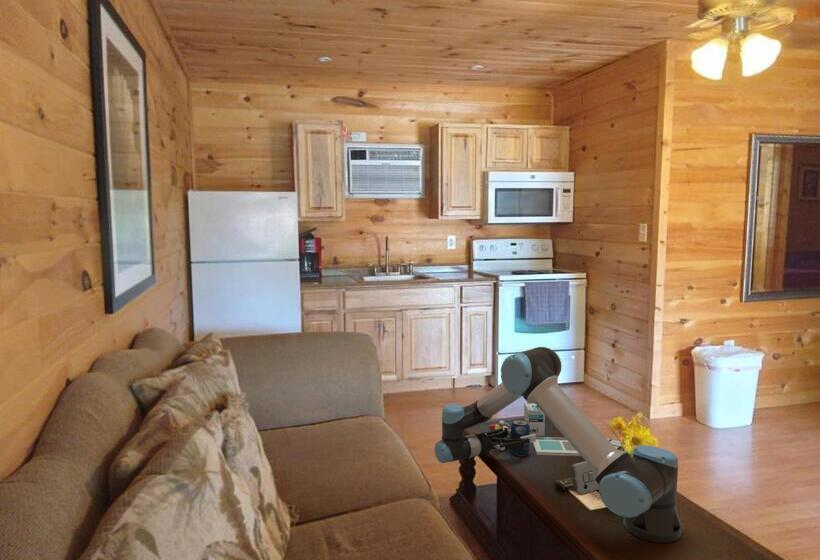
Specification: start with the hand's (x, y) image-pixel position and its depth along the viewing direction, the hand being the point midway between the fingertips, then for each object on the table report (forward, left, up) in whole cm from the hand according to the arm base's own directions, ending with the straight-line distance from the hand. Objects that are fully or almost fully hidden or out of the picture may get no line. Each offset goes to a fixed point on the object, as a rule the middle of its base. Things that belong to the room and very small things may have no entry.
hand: (528, 434), depth 212 cm
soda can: (-2, +3, -7) cm, 8 cm away
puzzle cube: (-14, -25, -7) cm, 29 cm away
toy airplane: (+14, +9, -7) cm, 18 cm away
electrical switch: (-28, -15, -7) cm, 32 cm away
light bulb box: (+20, -5, -7) cm, 22 cm away
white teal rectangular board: (+4, -13, -7) cm, 15 cm away
